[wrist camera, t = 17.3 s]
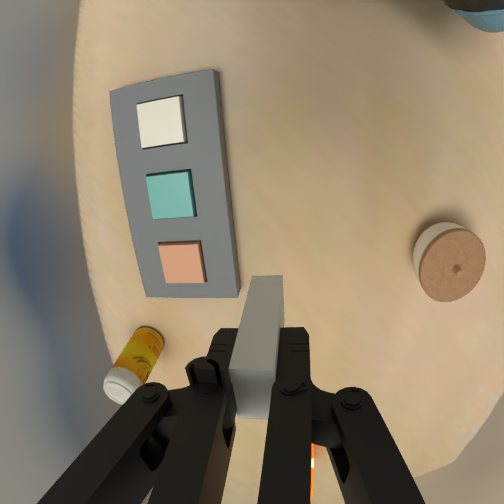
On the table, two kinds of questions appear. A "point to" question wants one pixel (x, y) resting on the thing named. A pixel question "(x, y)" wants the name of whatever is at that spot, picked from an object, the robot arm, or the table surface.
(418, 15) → the table surface
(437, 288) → the lidded jar
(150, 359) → the beer can
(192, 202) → the teal button
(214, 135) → the panel
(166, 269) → the terracotta button
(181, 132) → the cream button
